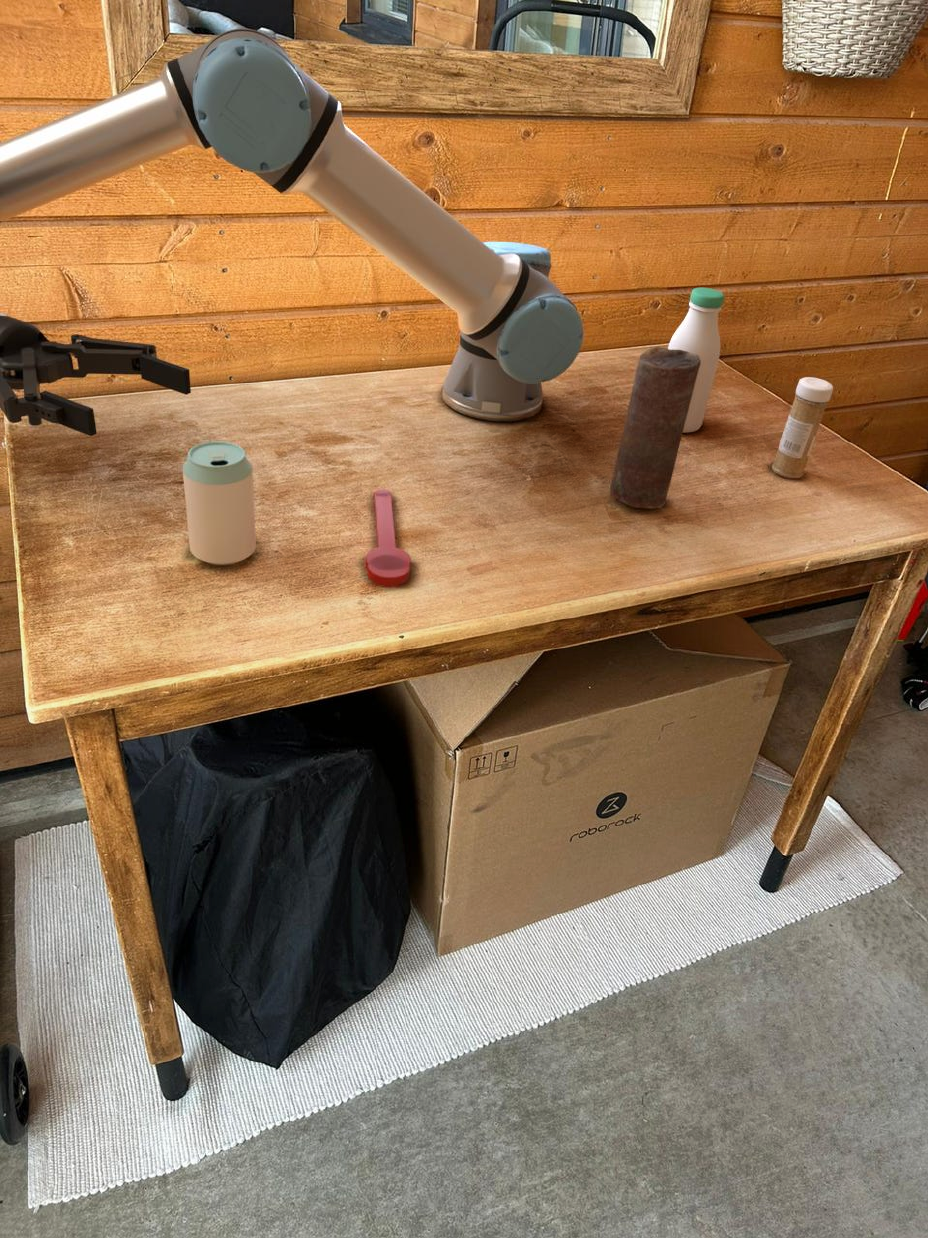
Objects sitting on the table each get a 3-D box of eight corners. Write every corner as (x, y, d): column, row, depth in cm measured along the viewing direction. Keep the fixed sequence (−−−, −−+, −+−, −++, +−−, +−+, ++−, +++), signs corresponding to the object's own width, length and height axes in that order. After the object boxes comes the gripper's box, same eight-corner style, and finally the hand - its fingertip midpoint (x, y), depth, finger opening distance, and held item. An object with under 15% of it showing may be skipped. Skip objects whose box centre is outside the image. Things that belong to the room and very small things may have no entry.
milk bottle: (703, 419, 145) (738, 289, 133) (697, 438, 139) (733, 304, 127) (655, 408, 147) (685, 279, 135) (646, 426, 141) (677, 293, 129)
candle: (650, 523, 117) (688, 370, 105) (598, 503, 120) (629, 353, 108) (672, 500, 123) (711, 353, 111) (622, 482, 125) (654, 336, 113)
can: (269, 549, 104) (266, 452, 97) (224, 576, 99) (217, 476, 92) (222, 527, 107) (216, 431, 99) (176, 553, 102) (166, 453, 94)
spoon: (361, 495, 116) (362, 486, 115) (402, 496, 116) (402, 487, 116) (366, 586, 100) (366, 577, 99) (412, 587, 101) (413, 578, 100)
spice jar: (809, 476, 132) (841, 386, 124) (788, 482, 130) (819, 391, 122) (784, 462, 135) (814, 373, 127) (763, 468, 133) (792, 378, 125)
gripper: (89, 350, 116) (223, 398, 109) (-95, 415, 97) (52, 477, 90) (80, 289, 111) (220, 335, 104) (-114, 345, 93) (39, 405, 86)
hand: (142, 401), depth 97 cm, fingers open, 13 cm apart
